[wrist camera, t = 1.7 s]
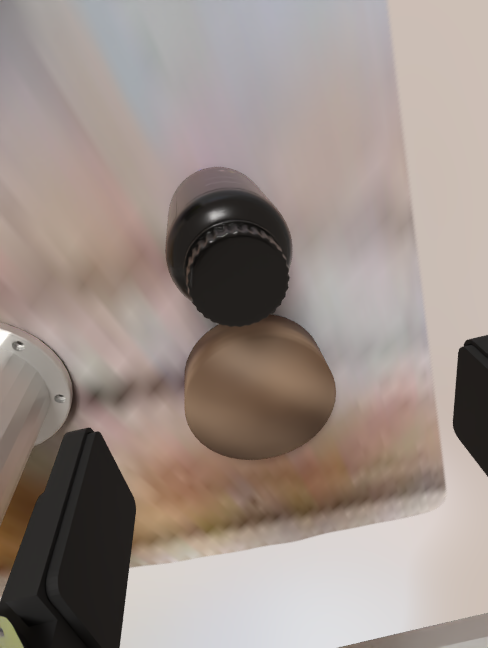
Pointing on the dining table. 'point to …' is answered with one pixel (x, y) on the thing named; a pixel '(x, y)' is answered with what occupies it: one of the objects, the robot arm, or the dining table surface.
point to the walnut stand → (257, 389)
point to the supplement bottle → (227, 247)
